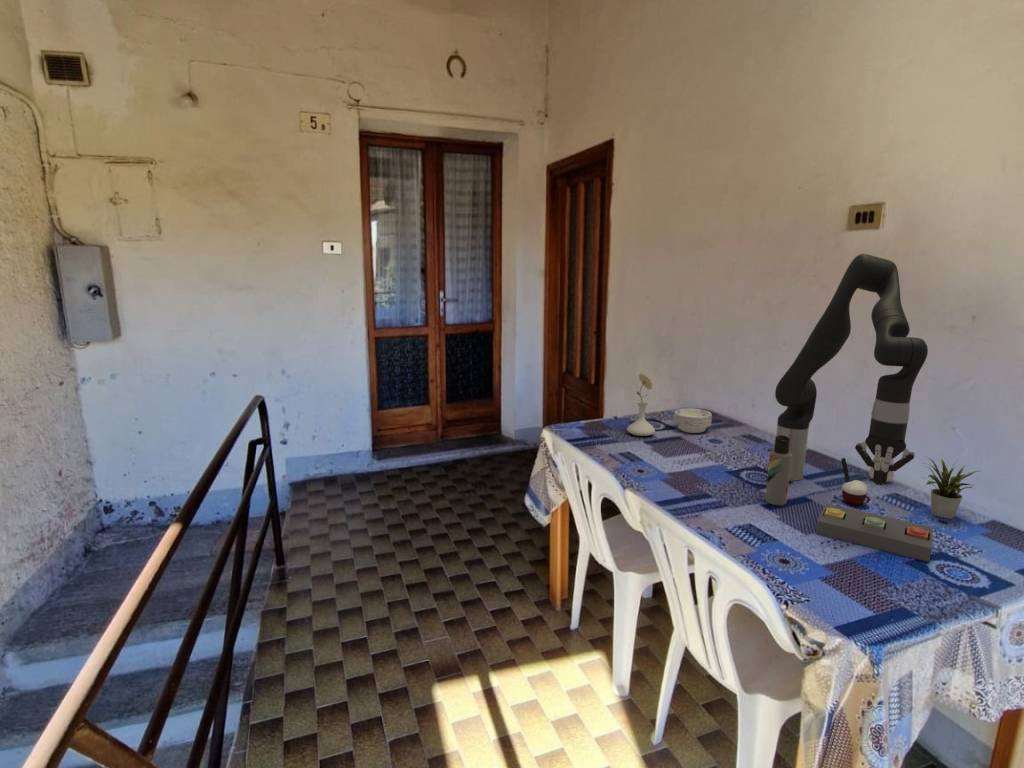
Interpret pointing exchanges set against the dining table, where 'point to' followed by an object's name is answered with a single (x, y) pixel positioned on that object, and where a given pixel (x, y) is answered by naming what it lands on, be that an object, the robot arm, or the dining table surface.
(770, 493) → the lotion bottle
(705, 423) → the paper bowls
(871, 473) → the plastic bottle
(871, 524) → the sage button
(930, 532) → the panel
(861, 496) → the cocoa
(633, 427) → the flower in vase
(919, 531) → the red button
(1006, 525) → the dining table surface
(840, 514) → the ochre button
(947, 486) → the house plant
